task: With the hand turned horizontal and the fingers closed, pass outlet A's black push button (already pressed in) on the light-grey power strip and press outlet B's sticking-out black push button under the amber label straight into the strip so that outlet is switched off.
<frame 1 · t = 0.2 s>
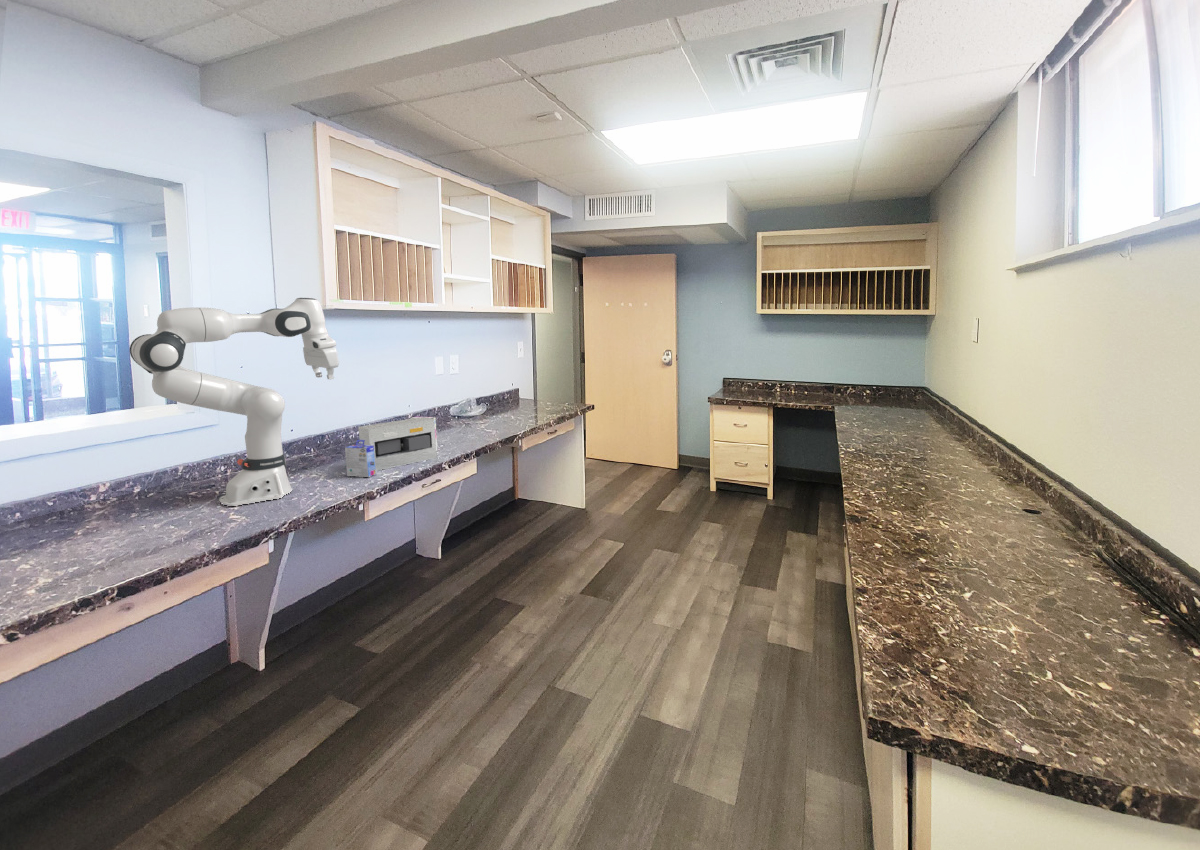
hand: (324, 378, 215), 40 cm above the countertop, tool pointing down, fingers open, 8 cm apart
button B: (416, 442, 247), point 9 cm above the countertop, slide at 0.0 cm
candy bar box: (425, 451, 268), on the countertop
button A: (386, 445, 240), point 9 cm above the countertop, slide at 3.5 cm
ink cartridge box: (362, 476, 228), on the countertop
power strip: (405, 465, 244), on the countertop
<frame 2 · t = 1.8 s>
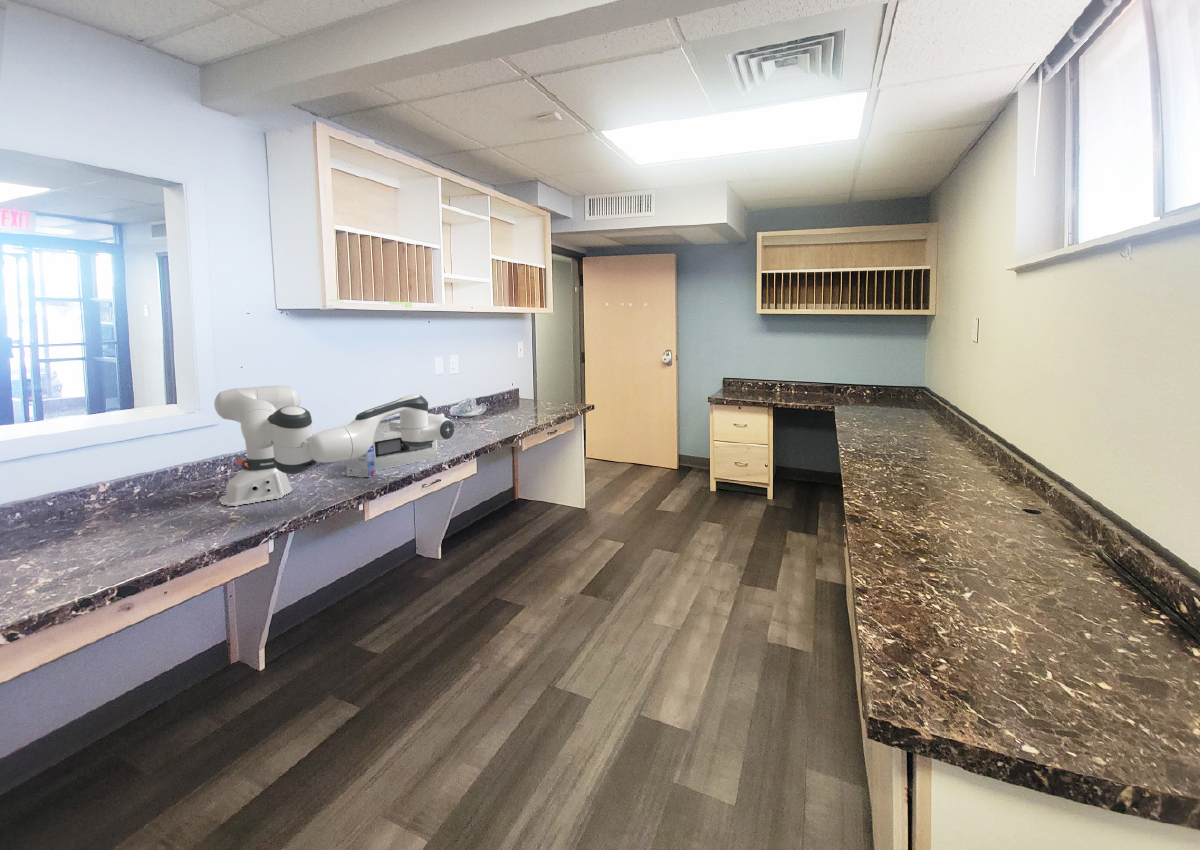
hand: (406, 420, 225), 22 cm above the countertop, tool horizontal, fingers open, 7 cm apart
nothing on the countertop moved.
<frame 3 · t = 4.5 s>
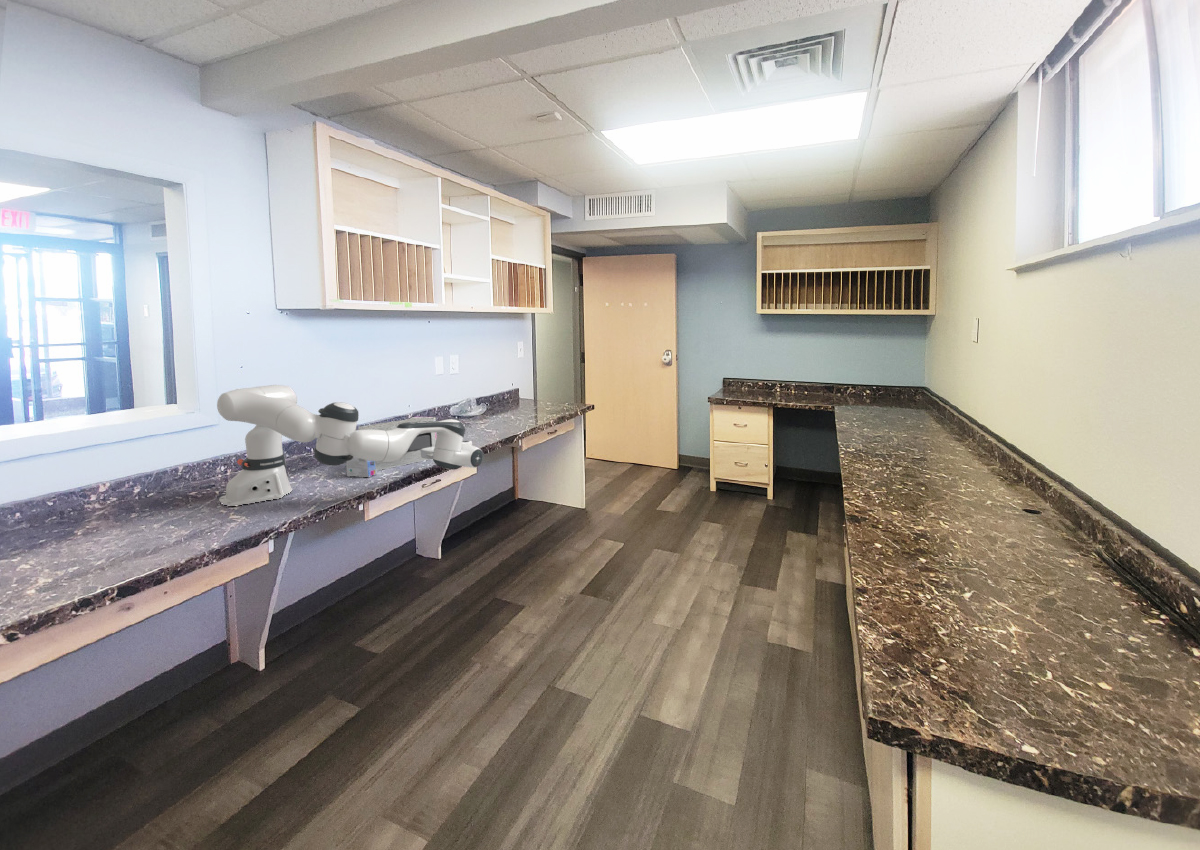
hand: (435, 447, 237), 9 cm above the countertop, tool horizontal, fingers closed
nothing on the countertop moved.
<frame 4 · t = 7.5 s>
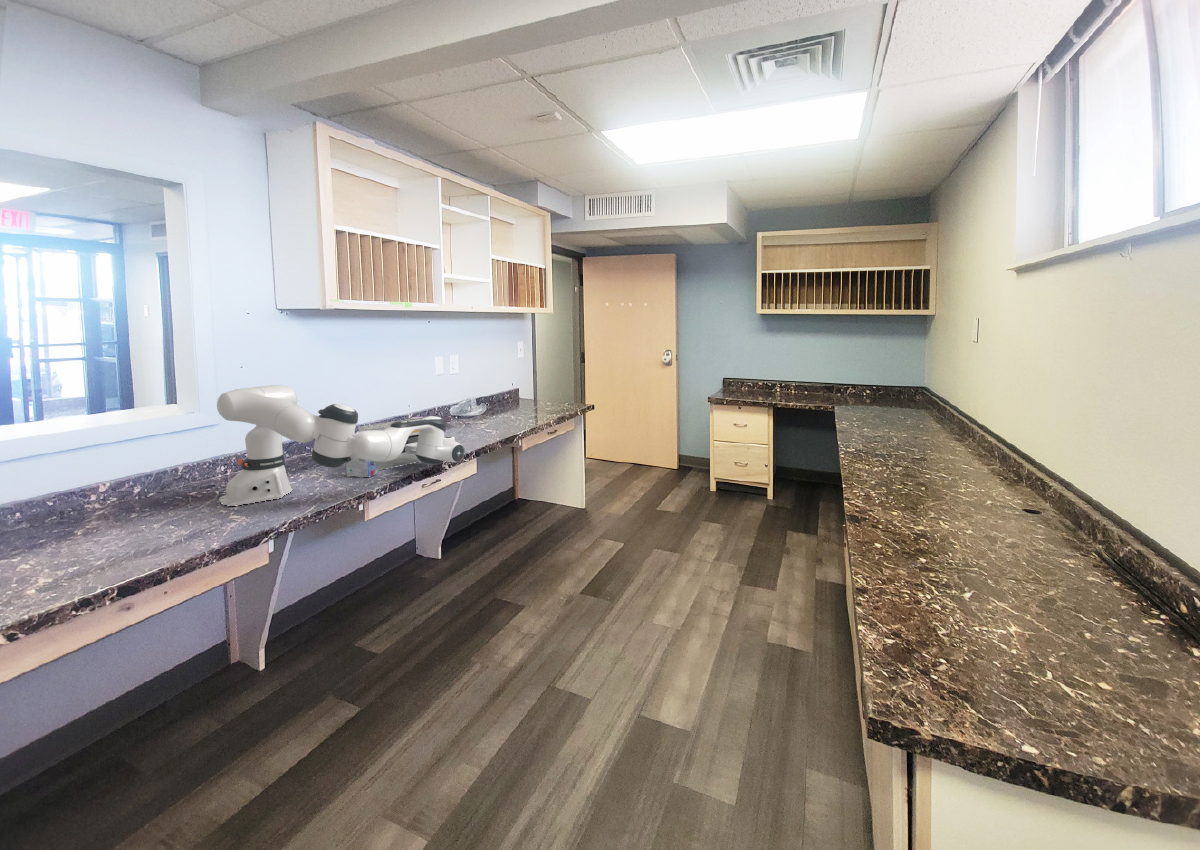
hand: (419, 443, 246), 9 cm above the countertop, tool horizontal, fingers closed, pressing on button B
button B: (415, 442, 247), point 9 cm above the countertop, slide at 0.6 cm, touching gripper
everything else where it was.
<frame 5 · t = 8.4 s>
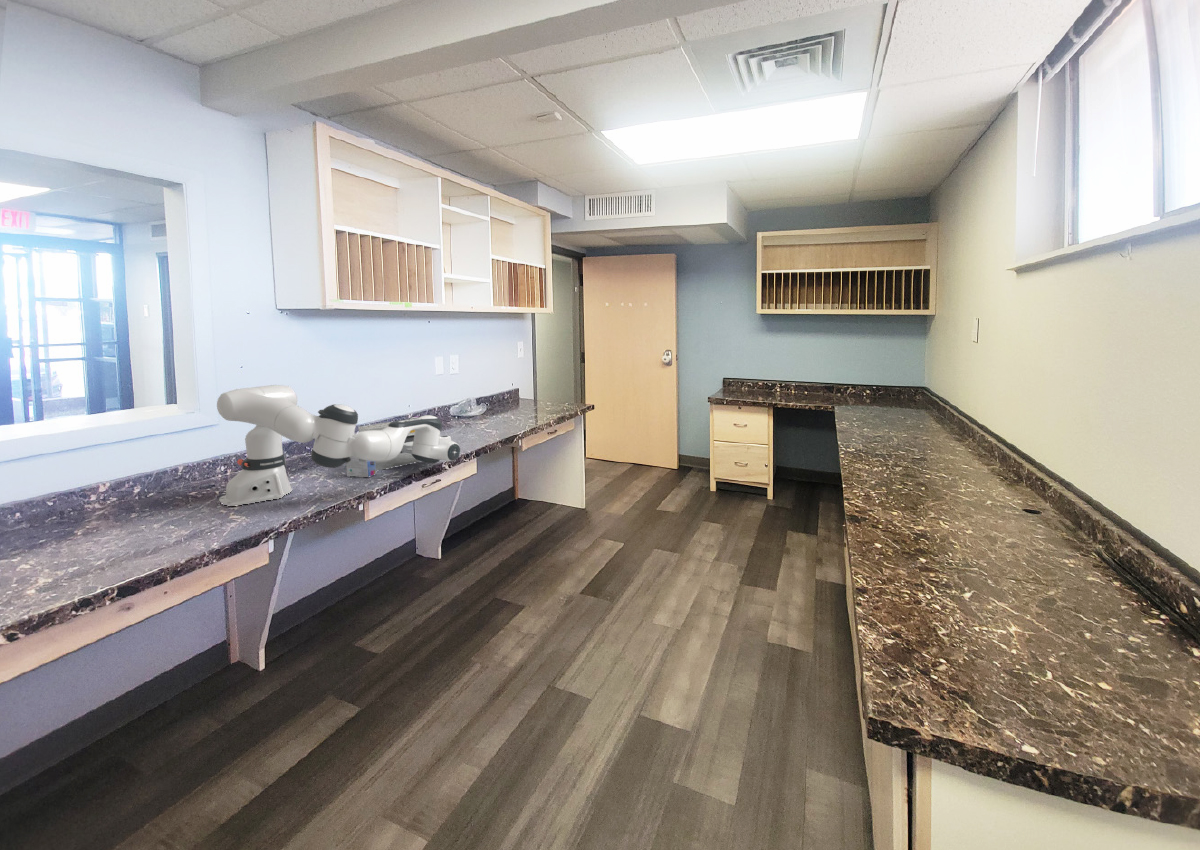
hand: (416, 442, 247), 9 cm above the countertop, tool horizontal, fingers closed, pressing on button B
button B: (413, 441, 249), point 9 cm above the countertop, slide at 3.0 cm, touching gripper
everything else where it was.
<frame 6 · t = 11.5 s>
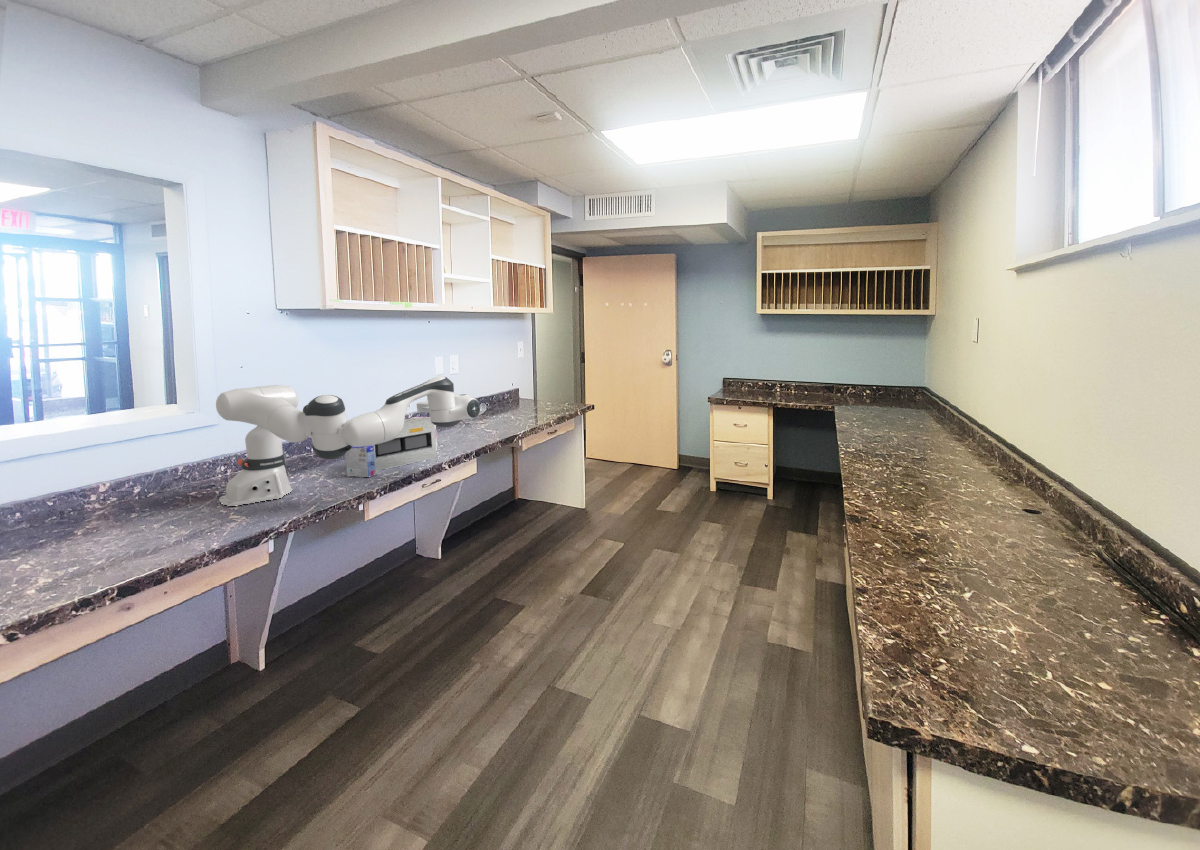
hand: (432, 402, 232), 28 cm above the countertop, tool horizontal, fingers closed
button B: (413, 441, 249), point 9 cm above the countertop, slide at 3.0 cm
everything else where it was.
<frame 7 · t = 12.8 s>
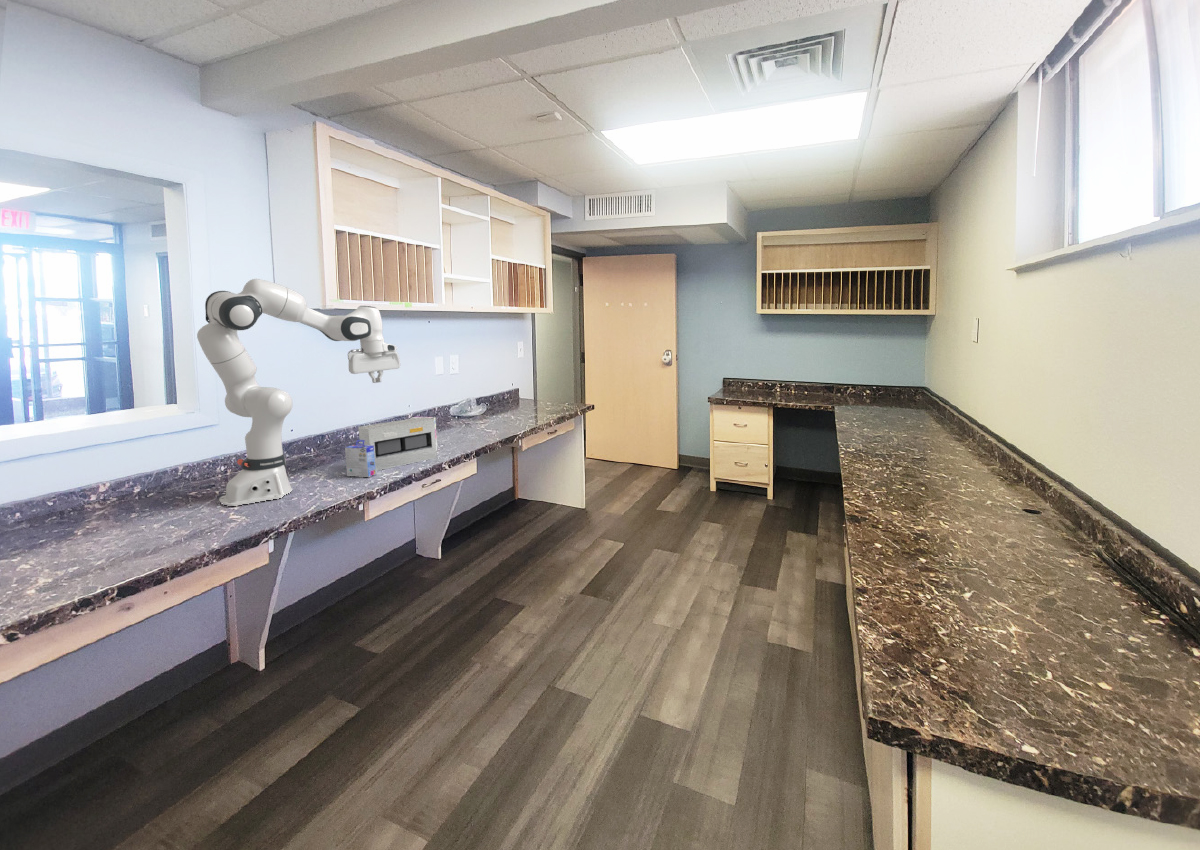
hand: (376, 382, 227), 37 cm above the countertop, tool pointing down, fingers closed
nothing on the countertop moved.
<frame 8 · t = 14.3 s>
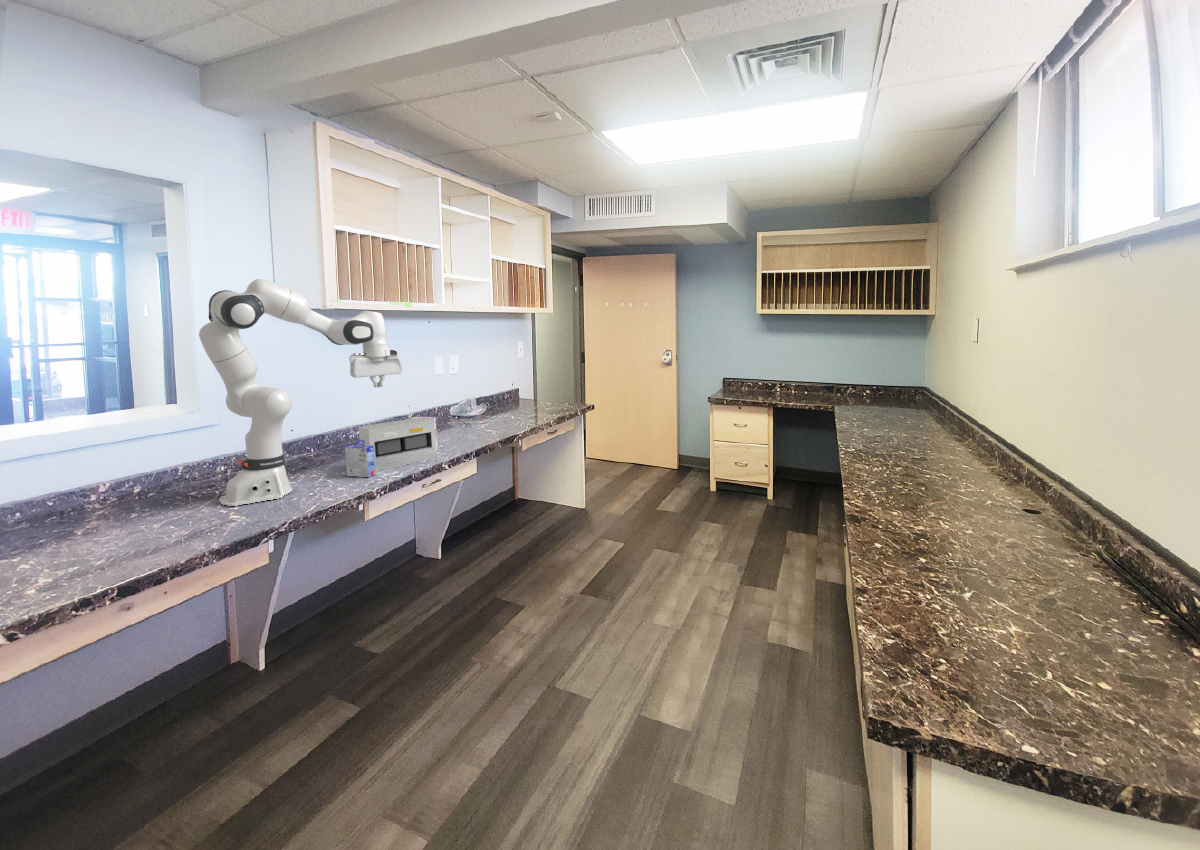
hand: (378, 387, 227), 35 cm above the countertop, tool pointing down, fingers closed
nothing on the countertop moved.
at the end: button B slide at 3.0 cm; button A slide at 3.5 cm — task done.
